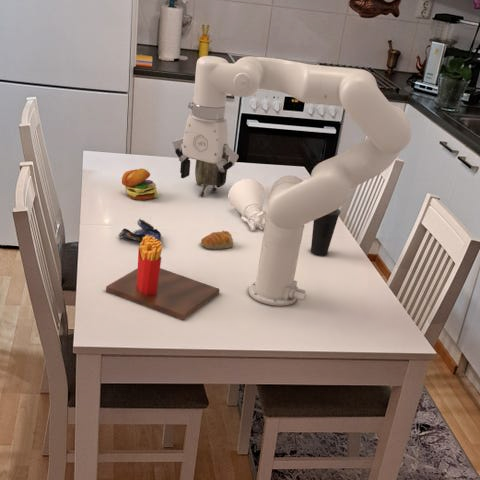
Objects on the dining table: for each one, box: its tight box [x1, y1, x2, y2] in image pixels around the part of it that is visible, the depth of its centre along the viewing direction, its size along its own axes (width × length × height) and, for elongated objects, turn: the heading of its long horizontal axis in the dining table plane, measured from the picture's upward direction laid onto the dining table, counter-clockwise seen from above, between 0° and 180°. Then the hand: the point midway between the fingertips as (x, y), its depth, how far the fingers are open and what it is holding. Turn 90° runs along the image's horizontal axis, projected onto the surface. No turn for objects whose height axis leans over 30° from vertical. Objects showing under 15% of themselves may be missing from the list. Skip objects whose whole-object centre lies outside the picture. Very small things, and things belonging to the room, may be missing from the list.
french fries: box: [136, 235, 163, 295], centre depth 195 cm, size 9×4×13 cm, turn 22°
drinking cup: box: [310, 208, 341, 257], centre depth 232 cm, size 8×8×20 cm
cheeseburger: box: [121, 167, 158, 201], centre depth 257 cm, size 10×11×10 cm
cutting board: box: [105, 267, 220, 321], centre depth 200 cm, size 22×18×2 cm
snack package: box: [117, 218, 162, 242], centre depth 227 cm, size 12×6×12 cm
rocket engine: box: [227, 178, 266, 232], centre depth 250 cm, size 12×12×18 cm
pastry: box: [200, 230, 234, 250], centre depth 230 cm, size 9×7×4 cm
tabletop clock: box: [194, 142, 230, 197], centre depth 265 cm, size 14×9×25 cm, turn 6°
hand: (202, 181), depth 196 cm, fingers open, 9 cm apart
